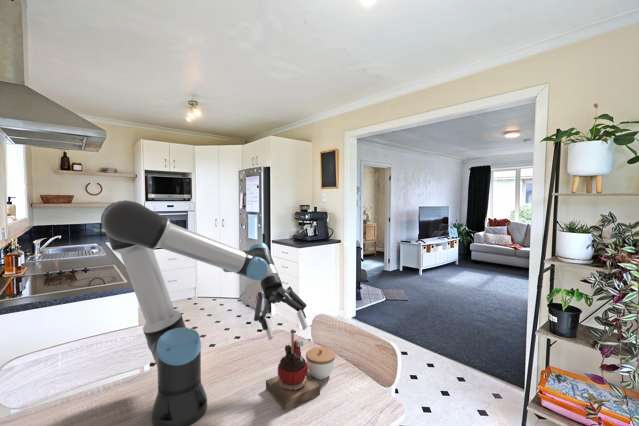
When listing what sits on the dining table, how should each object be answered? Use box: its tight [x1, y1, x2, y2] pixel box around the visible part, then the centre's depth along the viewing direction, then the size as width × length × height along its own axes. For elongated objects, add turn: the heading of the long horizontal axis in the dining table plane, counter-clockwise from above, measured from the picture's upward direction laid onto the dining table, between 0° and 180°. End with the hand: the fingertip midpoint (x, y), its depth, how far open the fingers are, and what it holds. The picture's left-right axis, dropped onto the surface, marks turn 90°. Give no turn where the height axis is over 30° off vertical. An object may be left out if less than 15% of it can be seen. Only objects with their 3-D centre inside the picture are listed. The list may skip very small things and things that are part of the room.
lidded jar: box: [305, 346, 336, 380], centre depth 110 cm, size 11×11×9 cm
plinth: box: [265, 373, 321, 412], centre depth 100 cm, size 13×13×3 cm
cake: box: [277, 328, 309, 390], centre depth 99 cm, size 11×9×18 cm
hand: (289, 333), depth 103 cm, fingers open, 13 cm apart
